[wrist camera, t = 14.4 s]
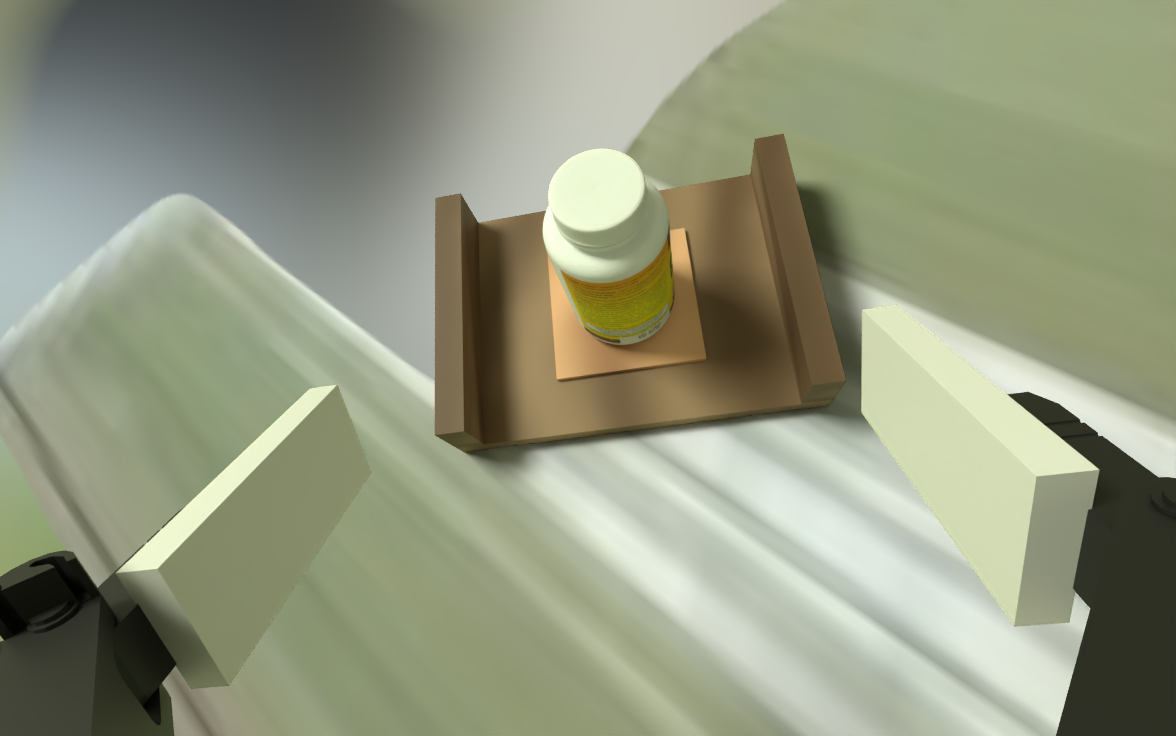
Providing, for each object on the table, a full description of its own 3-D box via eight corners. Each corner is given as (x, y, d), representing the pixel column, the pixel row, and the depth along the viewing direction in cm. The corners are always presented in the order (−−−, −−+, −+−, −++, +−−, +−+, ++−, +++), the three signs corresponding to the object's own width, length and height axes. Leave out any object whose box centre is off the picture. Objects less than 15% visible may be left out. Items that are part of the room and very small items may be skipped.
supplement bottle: (695, 315, 32) (694, 203, 23) (604, 367, 32) (566, 275, 23) (643, 240, 35) (622, 109, 25) (558, 288, 34) (505, 174, 25)
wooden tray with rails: (774, 180, 36) (783, 133, 32) (828, 405, 31) (846, 380, 27) (460, 235, 38) (435, 198, 35) (464, 452, 33) (434, 435, 30)
